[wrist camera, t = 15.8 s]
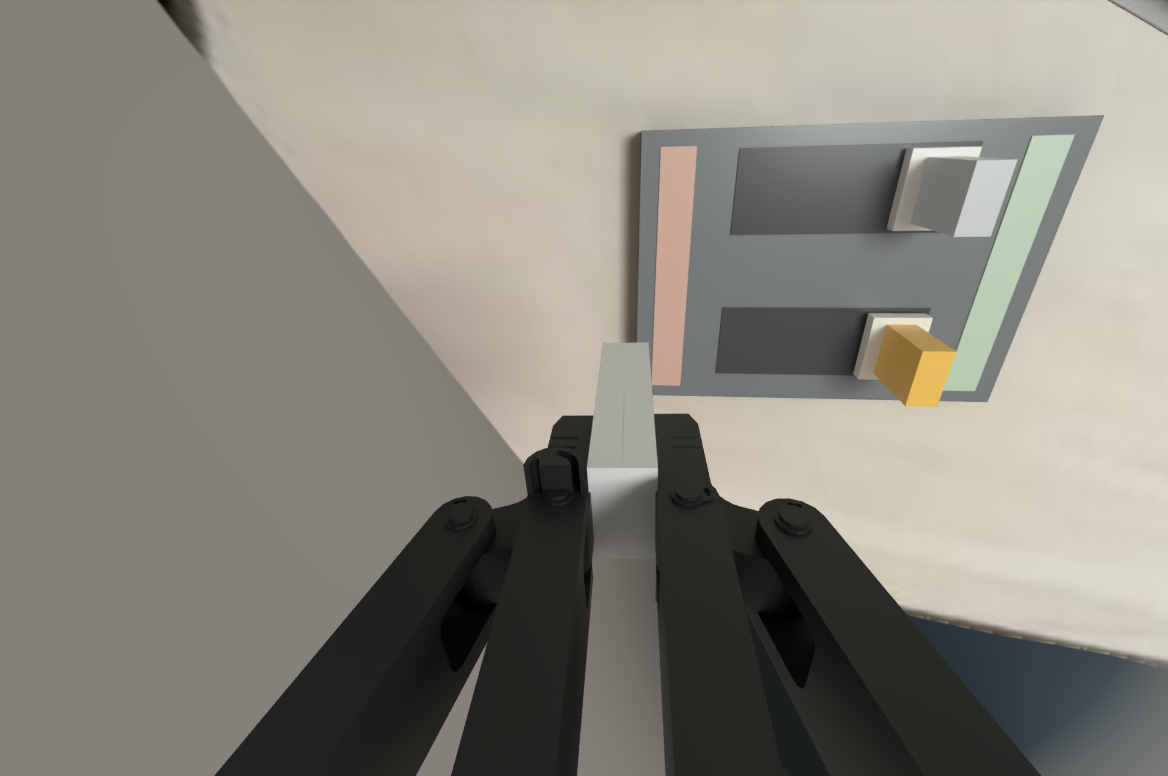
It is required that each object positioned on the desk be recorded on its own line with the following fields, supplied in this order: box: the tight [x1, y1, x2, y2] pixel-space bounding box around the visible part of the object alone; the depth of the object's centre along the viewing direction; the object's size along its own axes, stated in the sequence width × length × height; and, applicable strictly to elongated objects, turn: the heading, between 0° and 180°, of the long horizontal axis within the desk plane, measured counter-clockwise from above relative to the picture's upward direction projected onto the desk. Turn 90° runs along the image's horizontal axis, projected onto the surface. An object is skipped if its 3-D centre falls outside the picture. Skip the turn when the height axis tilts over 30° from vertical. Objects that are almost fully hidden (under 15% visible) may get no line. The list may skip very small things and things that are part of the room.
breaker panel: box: [637, 115, 1104, 402], centre depth 34 cm, size 20×28×8 cm
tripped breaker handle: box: [853, 313, 956, 407], centre depth 34 cm, size 5×4×6 cm
